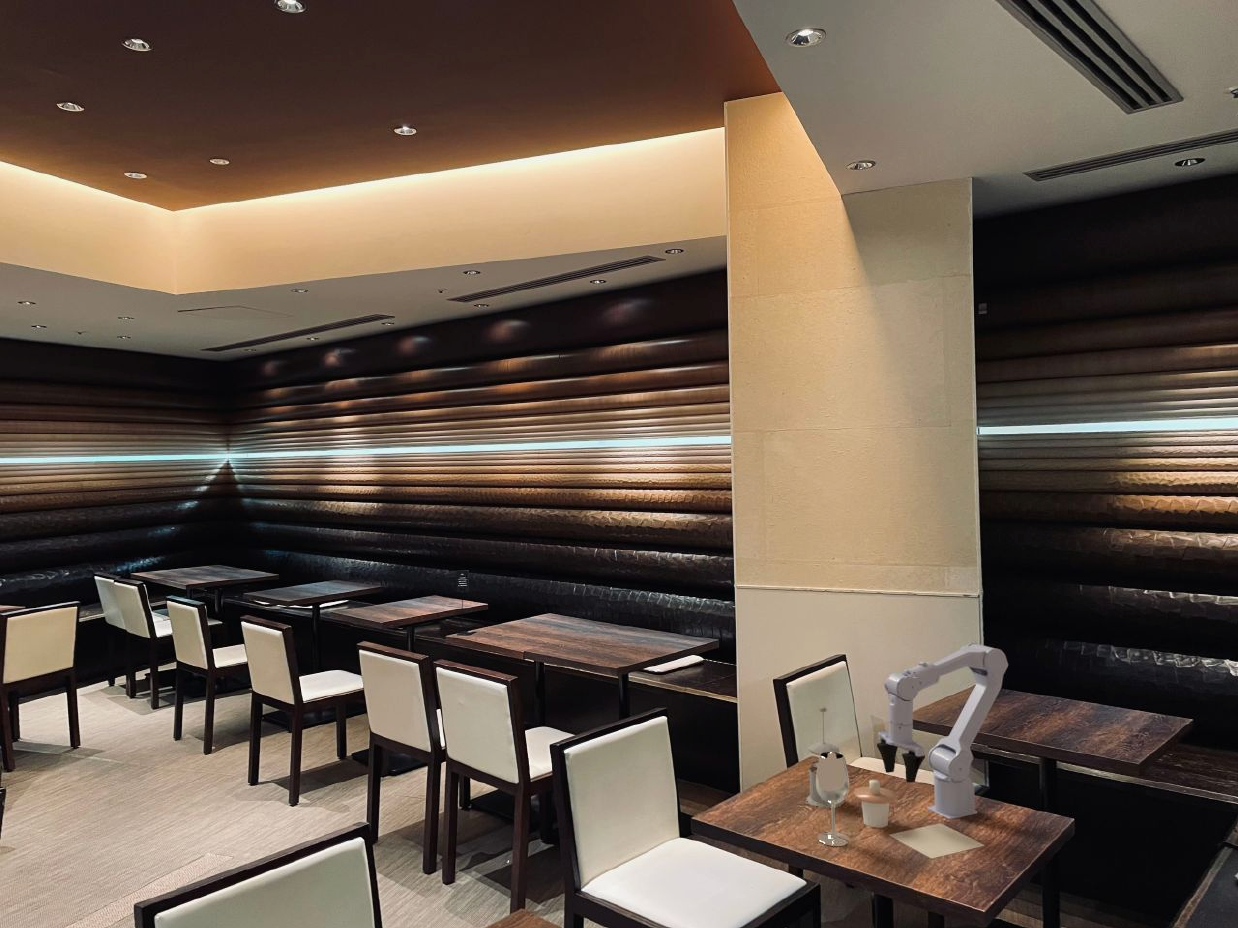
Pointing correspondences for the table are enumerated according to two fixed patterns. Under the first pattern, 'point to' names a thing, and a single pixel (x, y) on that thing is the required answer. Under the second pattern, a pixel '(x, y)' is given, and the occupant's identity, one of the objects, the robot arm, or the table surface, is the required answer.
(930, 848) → the mat
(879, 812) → the white tapered pot
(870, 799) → the lid
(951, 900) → the table surface
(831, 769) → the wineglass
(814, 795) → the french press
